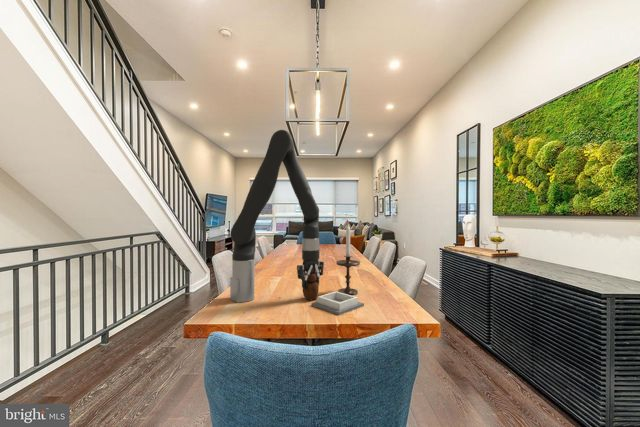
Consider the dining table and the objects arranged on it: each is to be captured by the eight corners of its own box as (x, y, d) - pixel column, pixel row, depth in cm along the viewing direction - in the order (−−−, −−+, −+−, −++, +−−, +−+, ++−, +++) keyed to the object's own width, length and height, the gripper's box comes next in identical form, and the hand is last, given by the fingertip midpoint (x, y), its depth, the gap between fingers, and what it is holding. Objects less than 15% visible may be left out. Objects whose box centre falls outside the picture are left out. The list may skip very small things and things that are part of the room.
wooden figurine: (320, 297, 127) (320, 263, 127) (315, 301, 121) (315, 266, 121) (305, 296, 129) (305, 262, 129) (300, 300, 124) (300, 265, 123)
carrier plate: (339, 315, 106) (339, 305, 106) (311, 305, 117) (311, 296, 117) (364, 305, 117) (364, 297, 117) (336, 297, 127) (336, 289, 127)
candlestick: (333, 294, 132) (333, 217, 132) (340, 288, 142) (340, 217, 142) (356, 297, 128) (356, 218, 127) (362, 290, 138) (362, 217, 138)
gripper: (316, 246, 133) (316, 282, 133) (292, 249, 123) (292, 288, 123) (328, 247, 127) (328, 285, 127) (304, 251, 117) (303, 292, 117)
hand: (310, 287), depth 125 cm, fingers closed on wooden figurine, 6 cm apart
